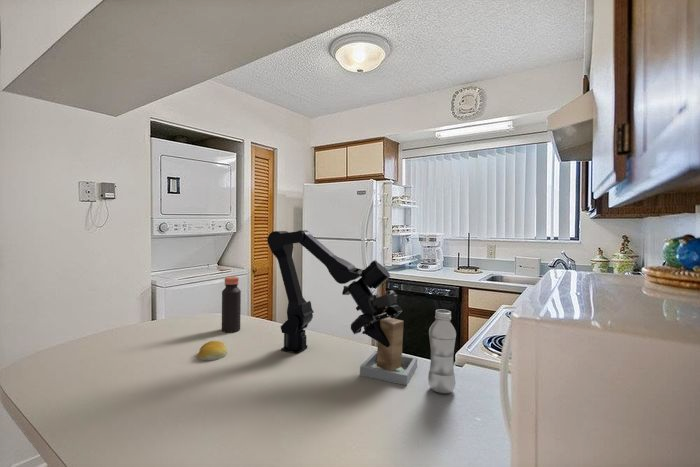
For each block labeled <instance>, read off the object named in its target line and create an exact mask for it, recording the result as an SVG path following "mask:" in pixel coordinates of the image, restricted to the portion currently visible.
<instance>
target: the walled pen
mask: <svg viewBox="0 0 700 467" xmlns="http://www.w3.org/2000/svg"><path fill="white" fill-rule="evenodd" d="M376 363H377V350H375V351H373V353H371V354H370V355H369V356H368V357H367V359H366V360H364V362H363V363H362V364H361V365H360V367H359V376H361V377H364V378H369V379H370V378H371V379H375V380H380V381H386V382H390V383H393V384H394V383H395V384H399V385H404V386H408V384H409V382H410V380H411V378H412V376H414V373H415V371H416V370H417V367H418V357H416V356H415V357H414V356H409V355H403V354H402V363H401V367H400V368H398V369H395V370H393V371H389V370H386V369H383V368H381V367H378V366H377V365H376V366H375V367H374V364H376ZM402 366H406V367H407V368H406V369H404V368H403V367H402Z"/></svg>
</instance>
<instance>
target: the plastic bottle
mask: <svg viewBox="0 0 700 467" xmlns="http://www.w3.org/2000/svg"><path fill="white" fill-rule="evenodd" d="M434 318H435V321H434V322H433V323H432V324H431V326H429V330H428V336H429V344H430V362H429V364H430V365H429V371H428V374H427V375H428V376H427V381H428V386H429V387H430V389H431V390H432V391H434V392H436V393H439V394H449V393H452V392H453V391H454V390H455V388H456V376H455V375H456V374H455V369H454V354H455V352H454V351H455V345H456V341H457V340H456V337H457V331H456V329H455V327H454V325H453V323H452V322H451V320H452V311H450V310H448V309H436V310H435V316H434Z"/></svg>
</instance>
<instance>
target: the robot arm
mask: <svg viewBox="0 0 700 467" xmlns="http://www.w3.org/2000/svg"><path fill="white" fill-rule="evenodd" d="M266 238H267V239H266V242H267V245H268V247H269V249H270V252H271V253H272V255H274V257H275V258H276V260H277V262H278V263H277V264H278V266H279V270H280V275H281V278H282V282H283V285H284V290H285V293H286V297H287V301H288V303H287V308H286V316H287V317H286V318H287V320H286V321H284V322H283V324H281V326H280V331H281V333H282V334H283V347H280V351H283V352H289V353H293V354H294V353H295V354H299V353H300V352H302V351H304V350H305V349H307V348H308V345H307V334H306V328H308V326H309V323H311V322H312V320H313V316H314V315H313V313H315V312H314V310H313V308H312V302H311V300H307V301H306V299H305V298H304V296H303V293H302V289H301V285H300V280H299V278H298V274H297V270H296V266H295V262H294V259H293V251H294V244H300V245H301V246H302V247H303V248H305V249H306V251H308V252H309V253H310V254H311V255H313V256H314V257H315V258H316V259H317V260H319V262H321V263H322V264H323V265H324V266H325V267H326V268H327V270H328V272H329V275H330V276H331V277H332V278H333V279H334V281H335V282H336V283H338V284H340V285H343V289H342V292H341V294H342V296H349V295H350V296H351V298H352V299H353V301H354V302H355V303H356V305H357V306H355V309H356V311H357V312H358V311H360V312H361V314H360V315H358V317H356V318H355V319H354V320H353V321H352V323H351V324H350V330H351V332H352V333H353V335H357V334H359V333H360V334H361V333H362V334H363V335H366V336H368V337H369V338H371V339H373V340H375V341H377V343H378V342H379V343H381V344H383V345H384V346H386V347H389V346H390V344H389V342H388V340H387V338H386V336H385V334H384V333H383V331H382V329H381V327H380V320H381V319H385V318H388V317H390V318H394V319H397V317H398V316H399V315H400V314H401V313H402V312H403V309H402V308H401V306H400V304H399V305H398V304H397V303H398V302H397V300H398V297H399V296H398V294H397V293H396V292H395V290H393V289H391V290H388V291H385V294H383V295H380V296H379V294H373V293H372V291H371V289H374V290H375V289H376V290H377V289H378V288H379V287H380V286H381V285H383V284H384V283H385V282H386V281H387V280H388V279H390V278H391V275H390V272H389V271H388V269H387V268H386V267H385V266H383V265H382V264H381V263H379V262H378V261H377V260H376V259H374V260H372V261H371V263H370V264H369V265H367V267H366V268H364V269H362V268H358V267H356V266H355V265H354V264H352V263H351V262H350V261H348V260H345V259H344V258H341V257H339V256H337V255H335V254H334V252H332V251H330V249H329V248H327V247H326V246H325V245H324V244H323V243H322V242H320V241H319V240H318V238H315V236H313V234H311V232H310V231H309V230H305V229H304V230H303V229H302V230H297V231H291V232H289V231H287V230H275V231H271V232H270V233H269V235H268V236H267V237H266ZM357 279H358V280H357ZM353 280H354V281H353ZM348 283H349V284H348ZM345 284H348V285H345ZM362 328H363V331H362Z"/></svg>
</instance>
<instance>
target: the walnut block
mask: <svg viewBox="0 0 700 467" xmlns="http://www.w3.org/2000/svg"><path fill="white" fill-rule="evenodd" d="M380 327H381V329H382V331H383V333H384V334H385V336H386V338H387V340H388V342H389V344H390V346H389V347H386V346H384V345H383V344H381V343H379V342H378V341H377V350H376V351H377V361H376V367H377V366H378V367H381V368H383V369H386V370H389V371H393V370H395V369H398V368H400V367H402V365H401V363H402V355H403V341H404V339H403V338H404V320H402V319H397V318H396V319H394V318H390V317H388V318H385V319H381V320H380Z"/></svg>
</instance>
